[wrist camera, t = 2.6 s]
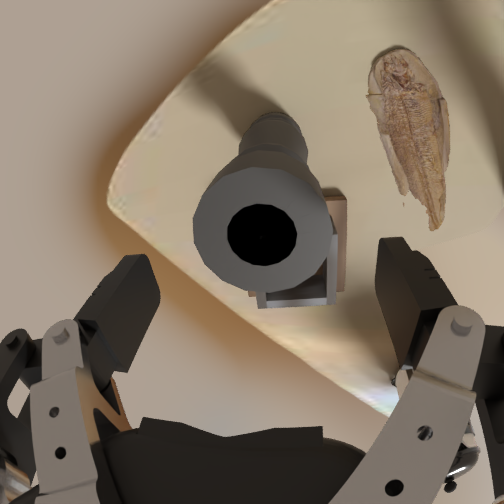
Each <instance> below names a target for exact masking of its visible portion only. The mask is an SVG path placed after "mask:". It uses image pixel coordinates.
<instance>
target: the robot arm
mask: <svg viewBox="0 0 504 504" xmlns="http://www.w3.org/2000/svg"><path fill="white" fill-rule="evenodd" d="M375 290H376V295H377V298H378V301H379V304H380V306H381V309H382V312H383V315H384V318H385V321H386V324H387V327H388V330H389V333H390V336H391V339H392V342H393V345H394V349H395V352H396V355H397V359H398V362H399V365H400V369H401V370H407V369H413V370H414V372H413V374H412V376H411V378H410V380H409V382H408V384H407V386H406V388H405V390H404V392H403V394H402V396H401V398H400V400H399V401H398V403H397V405H396V407H395V409H394V410H393V412H392V414H391V416H390V417H389V419H388V421H387V422H386V424H385V426H384V427H383V429H382V431H381V432H380V434H379V435H378V437H377V439H376V440H375V442H374V443H373V445H372V446H371V448H370V449H369V451H368V452H367V453H365V452H364V451H362V450H360V449H358V448H356V447H354V446H353V445H350V444H347V443H345V442H341V441H338V440H334V439H329V438H323V429H322V426H318V427H317V426H316V427H298V428H272V429H268V430H263V431H258V432H253V433H248V434H243V435H237V436H231V437H222V436H218V435H215V434H212V433H209V432H206V431H203V430H200V429H197V428H194V427H192V426H189V425H186V424H184V423H180V422H173V421H165V420H159V419H152V418H146V417H143V418H142V421H141V424H140V427H139V428H136V429H132V427H131V426H130V424H129V422H128V419H127V417H126V414H125V411H124V408H123V405H122V402H121V399H120V396H119V393H118V390H117V386H116V383H115V380H114V379H113V378H112V374H113V372H114V371H118V372H125V373H127V372H128V370H129V368H130V366H131V364H132V361H133V359H134V357H135V355H136V353H137V350H138V348H139V346H140V344H141V342H142V340H143V338H144V335H145V333H146V331H147V329H148V327H149V325H150V323H151V321H152V319H153V317H154V315H155V313H156V310H157V308H158V306H159V304H160V290H159V287H158V284H157V281H156V279H155V276H154V273H153V270H152V267H151V264H150V261H149V259H148V257H147V256H146V255H145V254H136V255H126V256H124V257H123V259H122V260H121V261H120V262H119V264H118V265H117V266H116V267H115V269H114V270H113V271H112V272H110V273H109V274H108V275H107V276H105V277H104V278H103V280H102V281H101V282H100V283H99V285H98V286H97V288H96V289H95V290H94V291H93V293H92V296H90V297H89V298H88V300H87V301H86V302H85V304H84V305H83V307H82V308H81V309H80V311H79V312H78V313H77V315H76V316H75V318H74V319H73V320H71V319H66V320H62V321H59V322H57V323H56V324H54V325H53V326H51V327H50V328H49V329H48V330H47V332H46V333H45V335H44V337H43V338H42V339H37V340H32V339H31V337H30V336H29V334H28V333H27V331H26V330H24V329H16V330H14V331H12V332H10V333H9V334H8V335H7V336H6V337H5V338H4V339H3V340H2V342H1V343H0V504H432V502H433V501H434V499H435V497H436V495H437V493H438V491H439V489H440V488H441V485H442V484H443V482H444V480H445V478H446V476H447V473H448V471H449V469H450V467H451V465H452V463H453V460H454V458H455V456H456V453H457V451H458V449H459V446H460V444H461V441H462V438H463V436H464V433H465V430H466V428H467V425H468V422H469V419H470V416H471V413H472V409H473V406H474V403H476V407H477V410H478V414H479V417H480V421H481V425H482V429H483V433H484V438H485V442H486V447H487V451H488V457H489V462H490V468H491V473H492V480H493V487H494V495H495V501H494V502H493V503H492V504H504V327H501V326H491V325H485V324H484V321H483V320H482V318H481V317H480V315H479V314H478V313H476V312H475V311H474V310H472V309H470V308H467V307H465V306H459V305H458V304H457V302H456V301H455V299H454V297H453V296H452V294H451V292H450V291H449V289H448V288H447V286H446V284H445V283H444V281H443V280H442V278H440V275H439V274H438V272H437V271H436V270H435V268H434V266H433V265H432V263H431V262H430V260H429V259H428V258H427V257H426V256H424V255H423V254H421V253H420V252H419V251H417V250H416V251H412V250H411V249H410V247H409V246H408V244H407V243H406V241H405V240H404V238H403V237H388V238H381V239H380V240H379V245H378V255H377V265H376V274H375ZM19 378H20V379H21V381H22V382H23V383H24V384H25V385H26V386H27V387H28V389H29V390H30V393H29V395H28V397H27V399H26V402H25V403H24V405H23V407H22V410H21V412H20V414H19V416H18V418H16V417H15V416H13V415H12V414H11V413H10V411H9V409H8V406H7V400H8V397H9V395H10V393H11V391H12V390H13V388H14V386H15V384H16V382H17V380H18V379H19ZM36 470H37V476H38V481H39V484H38V485H36V486H35V487H31V484H32V481H33V478H34V475H35V472H36Z"/></svg>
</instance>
